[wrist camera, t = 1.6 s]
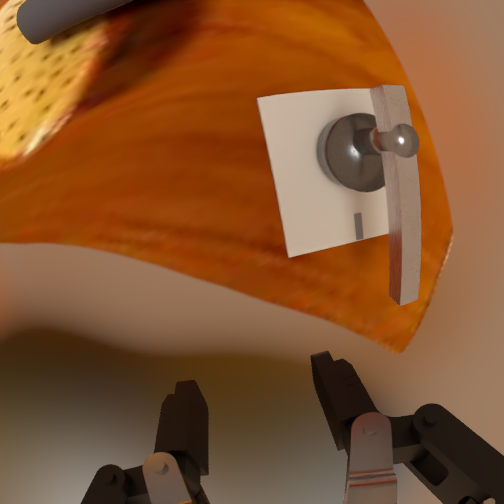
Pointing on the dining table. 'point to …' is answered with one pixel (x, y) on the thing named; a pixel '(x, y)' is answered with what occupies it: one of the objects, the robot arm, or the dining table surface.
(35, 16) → the bluetooth speaker
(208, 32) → the dining table surface
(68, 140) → the dining table surface
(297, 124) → the board
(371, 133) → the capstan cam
